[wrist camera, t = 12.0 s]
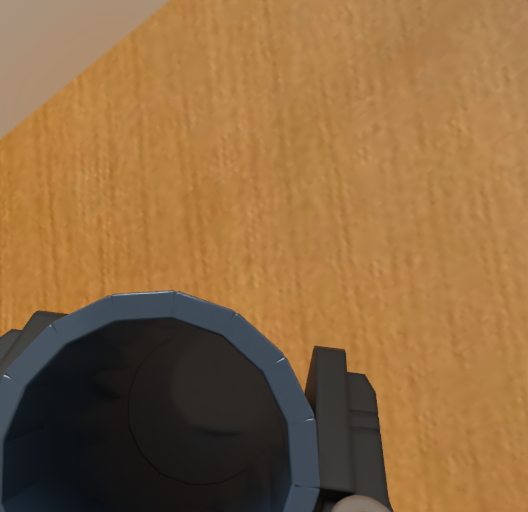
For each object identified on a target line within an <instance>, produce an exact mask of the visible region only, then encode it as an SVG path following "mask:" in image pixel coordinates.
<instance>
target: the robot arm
mask: <svg viewBox="0 0 528 512" xmlns="http://www.w3.org/2000/svg"><path fill="white" fill-rule="evenodd" d="M66 315H68V314H63V313H55V312H47V311H37V312H35V313H34V314H33V315H32V317H31V318H30V320H29V321H28V322H27V324H26V325H25V327H24V328H23V330H16V329H11V330H10V331H9V332H7V333H6V334H4V335H3V336H2V337H0V379H1V377H2V375H3V374H5V371H6V369H7V368H8V367H9V366H10V365H11V364H12V363H13V362H14V361H15V360H16V359H17V358H18V357H19V356H20V355H21V354H22V353H23V352H24V351H25V350H26V348H27V347H28V346H29V345H30V344H31V343H32V342H33V341H34V340H35V339H36V338H37V337H38V336H39V335H40V334H41V333H42V332H43V331H44V330H45V329H46V327H47V326H48V325H50V324H52V323H53V322H54V321H56V320H58V319H60V318H62V317H64V316H66ZM305 396H306V398H307V400H308V402H309V404H310V406H311V408H312V411H313V413H314V418H315V420H316V429H317V443H318V456H319V469H320V483H321V485H320V487H319V489H320V493H319V497H318V500H317V503H316V506H315V510H314V512H394V511H393V509H392V507H391V504H390V501H389V497H388V490H387V482H386V474H385V466H384V457H383V449H382V441H381V434H380V425H379V417H378V408H377V400H376V393H375V391H374V389H373V387H372V386H371V384H370V382H369V381H368V379H367V377H366V376H365V374H359V373H351V372H347V365H346V353H345V350H344V349H337V348H329V347H321V346H314V349H313V353H312V358H311V363H310V368H309V373H308V378H307V383H306V388H305Z"/></svg>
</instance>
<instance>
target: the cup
mask: <svg viewBox="0 0 528 512" xmlns="http://www.w3.org/2000/svg"><path fill="white" fill-rule="evenodd" d="M320 485H321V483H320V469H319V456H318V443H317V429H316V420H315V418H314V413H313V411H312V408H311V406H310V404H309V402H308V400H307V398H306V396H305V394H304V392H303V390H302V388H301V386H300V384H299V382H298V380H297V378H296V376H295V373H294V371H293V369H292V367H291V365H290V363H289V361H288V359H287V358H286V357H285V356H284V354H283V352H281V351H280V350H279V349H278V348H277V347H276V346H275V345H274V344H273V343H271V342H270V341H269V340H268V339H267V338H266V337H265V336H264V335H263V334H261V333H260V332H259V331H258V330H257V329H256V328H255V327H254V326H253V325H251V324H250V323H249V322H248V321H247V320H246V319H245V318H244V317H242V316H241V315H240V314H239V313H236V312H235V311H234V310H232V309H229V308H226V307H223V306H220V305H217V304H214V303H211V302H209V301H206V300H203V299H200V298H197V297H194V296H191V295H188V294H185V293H183V292H180V291H177V292H176V291H174V290H170V291H153V292H137V293H120V294H113V295H112V296H111V295H110V296H106V297H104V298H102V299H100V300H98V301H96V302H94V303H91V304H89V305H87V306H85V307H83V308H81V309H79V310H77V311H75V312H72V313H70V314H68V315H66V316H64V317H62V318H60V319H58V320H56V321H54V322H53V323H52V324H50V325H48V326H47V327H46V329H45V330H44V331H43V332H42V333H41V334H40V335H39V336H38V337H37V338H36V339H35V340H34V341H33V342H32V343H31V344H30V345H29V346H28V347H27V348H26V350H25V351H24V352H23V353H22V354H21V355H20V356H19V357H18V358H17V359H16V360H15V361H14V362H13V363H12V364H11V365H10V366H9V367H8V368H7V369H6V371H5V374H3V375H2V377H1V379H0V512H314V510H315V506H316V503H317V500H318V497H319V493H320V489H319V487H320Z"/></svg>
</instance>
